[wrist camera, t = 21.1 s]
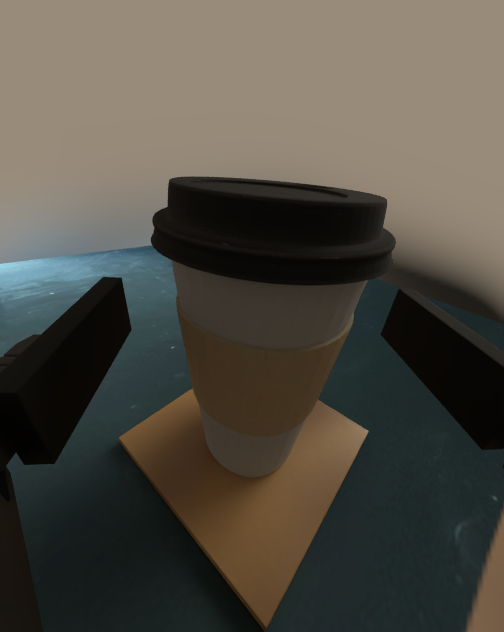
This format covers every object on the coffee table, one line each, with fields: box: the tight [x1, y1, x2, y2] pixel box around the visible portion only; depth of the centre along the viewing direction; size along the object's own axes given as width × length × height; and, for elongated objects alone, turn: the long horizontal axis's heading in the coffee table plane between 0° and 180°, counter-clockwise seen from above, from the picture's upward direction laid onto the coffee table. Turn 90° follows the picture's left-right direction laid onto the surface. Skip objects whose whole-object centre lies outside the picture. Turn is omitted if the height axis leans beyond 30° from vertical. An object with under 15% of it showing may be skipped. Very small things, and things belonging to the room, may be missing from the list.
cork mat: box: [119, 388, 369, 631], centre depth 18 cm, size 12×12×1 cm
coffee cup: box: [151, 177, 396, 478], centre depth 14 cm, size 9×9×15 cm
